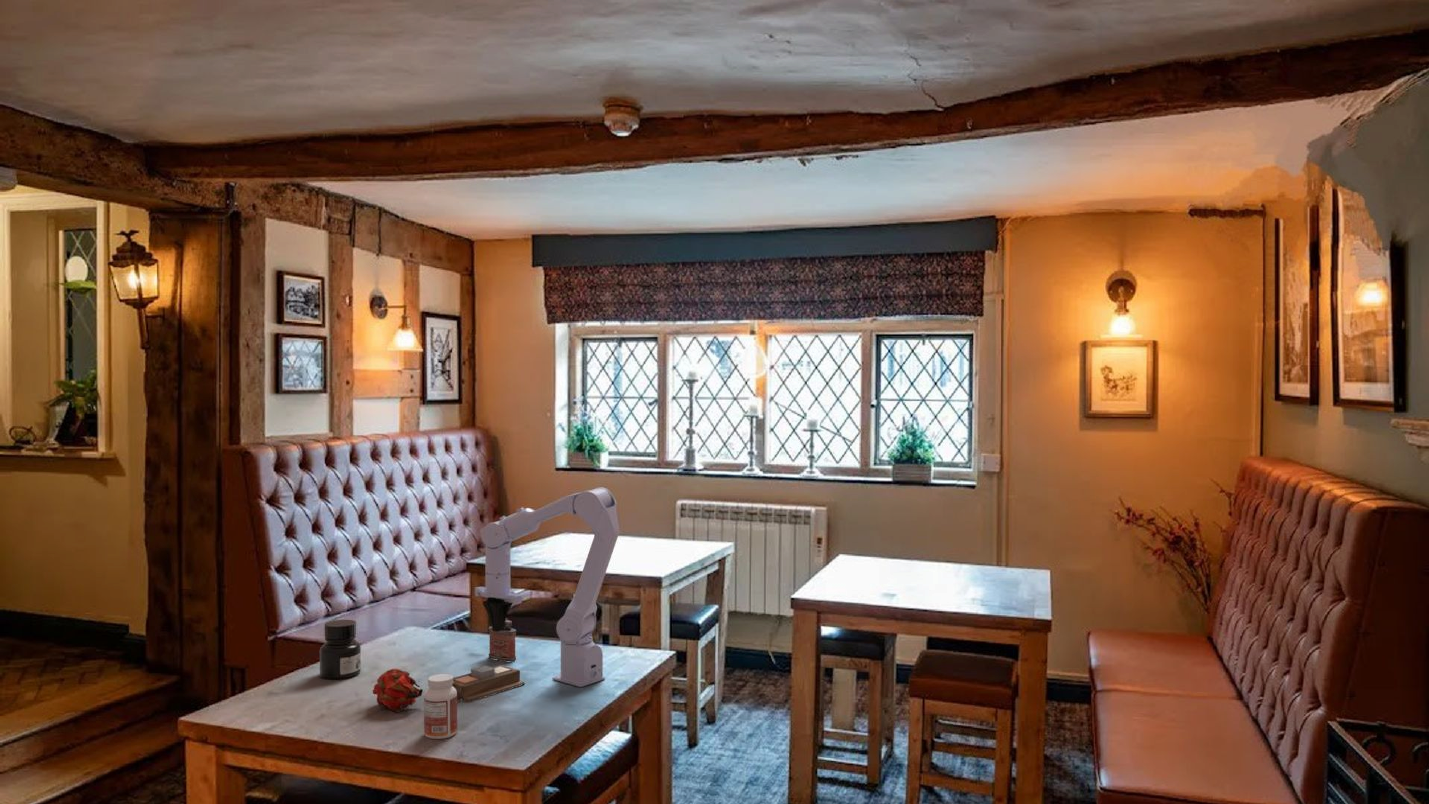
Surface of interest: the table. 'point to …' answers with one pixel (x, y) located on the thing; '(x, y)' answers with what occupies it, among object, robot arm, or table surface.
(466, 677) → the key terracotta
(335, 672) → the ink bottle
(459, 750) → the table surface
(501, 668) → the key cream
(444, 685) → the pill bottle
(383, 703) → the dragon fruit
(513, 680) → the keypad board
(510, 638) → the lighter
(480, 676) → the key slate
